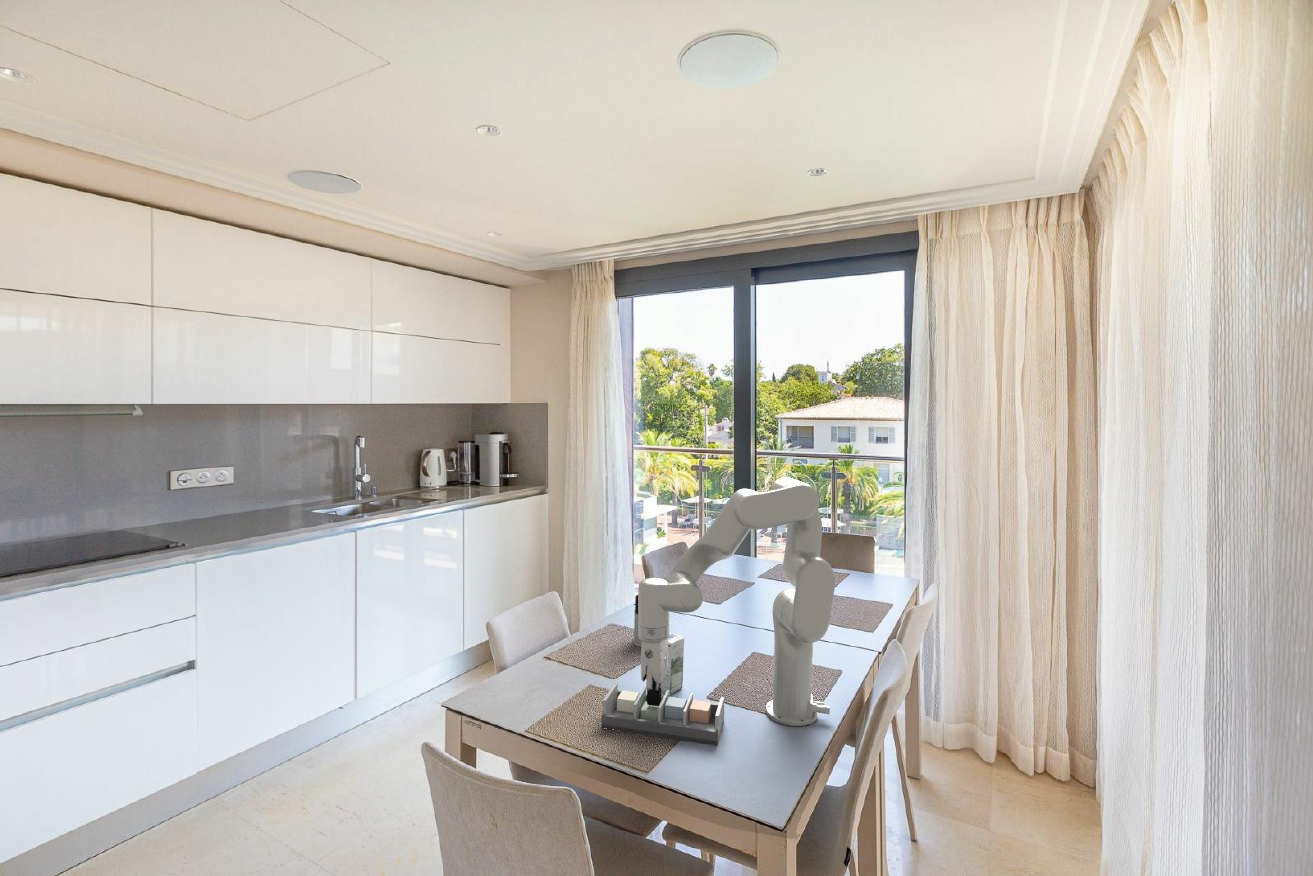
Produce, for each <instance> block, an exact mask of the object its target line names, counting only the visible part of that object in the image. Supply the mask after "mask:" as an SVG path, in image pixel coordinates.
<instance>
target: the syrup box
mask: <svg viewBox="0 0 1313 876" xmlns="http://www.w3.org/2000/svg"><path fill="white" fill-rule="evenodd" d="M684 651H685V638H684V637H682V636H680V635H678V634H675V633H671V632H669V638H668V655H669V668H668V671H667V673H666V675H665V677H664V679H663V681H662V682H661V693H664V694H665V693H666V691H667V690H669V696H671V695H673V694H675V693H676V692H678V691H680V690H682V688H683V683H684V682H683V679H684V677H683V676H684V653H685V652H684Z"/></svg>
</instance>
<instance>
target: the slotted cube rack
mask: <svg viewBox="0 0 1313 876" xmlns="http://www.w3.org/2000/svg"><path fill="white" fill-rule="evenodd" d="M618 685H619V684H618V683H617V682H614V683H613V685H612V686H611V688H610V689H609V691H608V692H607V693H606V695H605V696H604V698H603V699H602V714H601V722H600V723H601V727H600V728H607V729H606V730H608V729H614V730H613V731H615V730H620V731H619V732H622V731H624V732H623V733H628V732H631V733H630V734H635V733H636V734H637V735H642V736H649V737H657V738H662V739H671V740H676V741H682V742H683V741H684V742H690V743H696V744H697V743H698V744H703V745H704V744H705V745H710V746H715V747H716V746H717V747H718V745H719V742H720V738H721V734H722V730H723V726H724V723H725V696H724V697H723V696H721V697H720V699H719V702H718V703H716V702H711V716H710V719H709V722H708V723H702V722H695V721H690V707H691V704H692V702H693V700H694V692H692V693H690V694H689V696H688V699H687V703H686V706H685V708H684V711H683V720H681V719H673V718H666V717H665V704H666V702H667V700H668V698H669V697H670V695H669V690H667V691H666V693H664V695H663V696H662V695H661V703H660V705H659V707H658V722H656V721H649V720H642V719H641V708H642V707H643V705H644V703H645V701H646V702H647V689H646V686H643V688H642V690H641V691H640V692H638V693H639V696H638V698H637V700H636V701H635V703H634V713H631V712H624V711H617V698H618V696H619V695H620V693H621V692H622V690H618V689H619V688H618Z"/></svg>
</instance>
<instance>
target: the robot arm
mask: <svg viewBox="0 0 1313 876" xmlns="http://www.w3.org/2000/svg"><path fill="white" fill-rule="evenodd" d="M819 507H820V495H819V493H818V491H817V490H816V488H814V487H813V486H811V485H810V484H809V483H806V482H804V481H800V480H798V479H796V478H795V479H794V478H791V477H781V478H778V479H776V480H775V481H774V482H773V483H772V485H771V487H770V490H769V491H766V492H765V491H764V492H758V491H755V490H754V489H753V490H752V489H749V488H741V489H738V490H736V491H735V492H734V493H733V494H732V495H731V496H730V497H729V499H728V500H727V501H726V503H725V504H724V506H723V508H722V509H721V510H720V511H719V513H718V515H717V516H716V517H715V518H714V520H713V521H712V523H711V524H710V526H709V527H708V529H707V530H706V532H705V533H704V534H703V535H702V536H701V537H700V538H698V539H697V540H696V541H695V542H694V543H693V544H692V545H691V546H690V547H689V548H688V549H687V550H686V551H685V552H684V553H683V554H682V555H681V557H680V558H679V559H678V561H677V562H676V563H675V565H674V567H673V568H672V569H671V570H670V572H669V574H668V575H667V578H666V579H664V578H661V577H660V578H659V577H649V578H648V577H647V578H643V579H642V580H641V581H640V582H639V584H638V588H637V590H638V591H637V592H638V594H637V595H638V637H639V638H640V639H641V640H642V647H641V650H640V677H641V678H640V679H641V681H642V682H646V683H645V687H646V694H647V705H652V706H659V705H660V703H661V696H662V692H661V682H662V681H663V679H664V677H665V675H666V673H667V671H668V668H669V655H668V638H669V633H670V612H675V613H676V612H677V613H683V614H685V613H693V612H695V611H697V610H698V609H700V607H701V606H702V605H703V602H704V593H703V591H702V589H701V587H700V585H699V584H698V582H699V581H700V579H701V578H702V576H703V575H704V574H705V573H706V571H708V569H710V568H711V566H713V565H714V564H716V563H718V562H720V561H723V560H726V559H729V558H730V557H731V558H732V556H733V555H734V554H735V553H736V552H737V550H738V548H739V547H740V546H741V544H742V542H743V541H744V540H745V539H746V537H747V535H748V534H749V532H751V530H757V531H758V530H765V529H771V528H775V527H780V526H784V525H786V526H787V527H786V529H787V530H786V540H785V541H786V542H785V549H784V554H783V559H782V560H783V562H782V574H783V577H784V578H785V580H786V582H788V583H789V584H790V585H791V586H793V587H794V588H788V589H784V590H782V591H780V592H779V593H778V594H777V595H776V596H775V599H774V601H773V603H772V604H773V605H772V624H773V632H774V633H773V634H774V637H773V638H774V639H773V640H774V642H773V643H774V644H773V645H774V646H773V647H774V648H773V670H772V673H773V674H772V700H770V701H769V702H767V704H766V706H765V713H766V715H767V716H768V717H769V718H770V719H771V720H773V721H775V722H777V723H779V724H782V725H786V726H790V727H804V726H808V725H811V724H813V723H815V722H816V721H817V718H818V713H819V714H823V715H830V713H831V712H830V709H831V707H830V705H825V701H816V700H815V699H813V694H812V684H813V656H814V653H813V652H814V646H813V645H814V643H817V642H818V641H820V640H821V639H823V638H824V636H825V635H826V634H827V632H828V629H829V626H830V622H831V616H832V609H833V603H834V596H835V594H834V593H835V590H836V589H835V587H836V586H835V585H836V579H835V574H834V570H833V568H832V566H831V565H830V563H829V562H828V561H827V560H825V559H824V558H823V557H821V549H822V538H823V522H822V516H821V514H820V511H819Z"/></svg>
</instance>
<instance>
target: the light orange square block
mask: <svg viewBox="0 0 1313 876" xmlns="http://www.w3.org/2000/svg"><path fill="white" fill-rule="evenodd" d="M711 703H712V702H711V701H704V700H697V699H693V702H692V704H691V707H690V721H695V722H702V723H708V722H709V719H710V716H711Z"/></svg>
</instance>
